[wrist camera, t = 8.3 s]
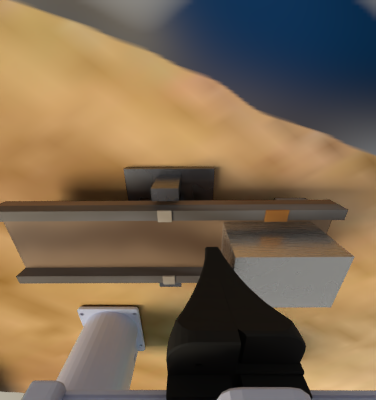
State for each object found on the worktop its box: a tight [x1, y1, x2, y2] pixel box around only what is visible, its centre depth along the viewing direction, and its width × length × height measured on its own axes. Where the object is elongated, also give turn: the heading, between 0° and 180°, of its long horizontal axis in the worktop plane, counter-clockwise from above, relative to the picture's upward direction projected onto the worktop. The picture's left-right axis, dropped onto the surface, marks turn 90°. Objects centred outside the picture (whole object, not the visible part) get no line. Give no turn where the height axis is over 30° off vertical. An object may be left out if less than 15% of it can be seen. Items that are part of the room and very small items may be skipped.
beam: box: [0, 198, 348, 284], centre depth 16 cm, size 7×26×4 cm, turn 90°
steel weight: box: [221, 222, 354, 307], centre depth 13 cm, size 4×7×4 cm, turn 90°
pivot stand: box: [124, 167, 214, 287], centre depth 17 cm, size 11×16×4 cm
